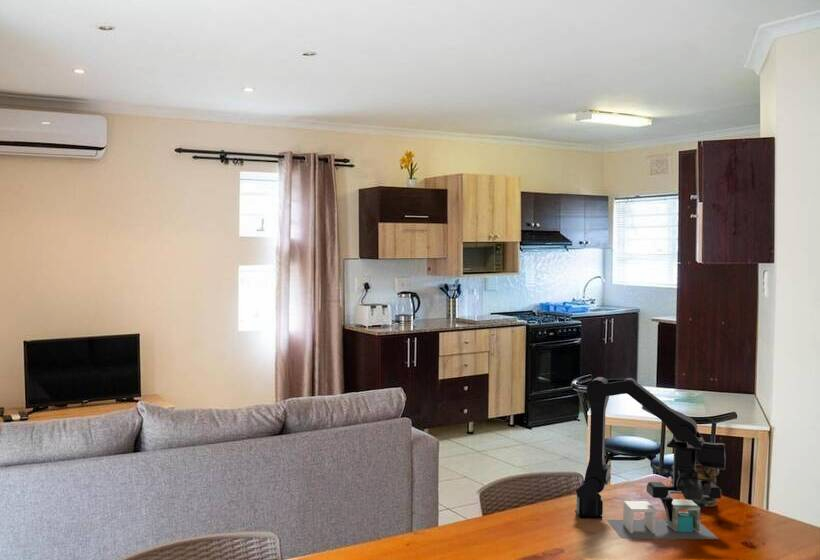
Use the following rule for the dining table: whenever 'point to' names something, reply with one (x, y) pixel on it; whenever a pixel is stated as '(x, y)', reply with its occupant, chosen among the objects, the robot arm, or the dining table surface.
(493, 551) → the dining table surface
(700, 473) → the wooden mug
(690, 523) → the cube
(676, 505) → the cover
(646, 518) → the cover
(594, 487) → the robot arm
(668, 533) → the mat
